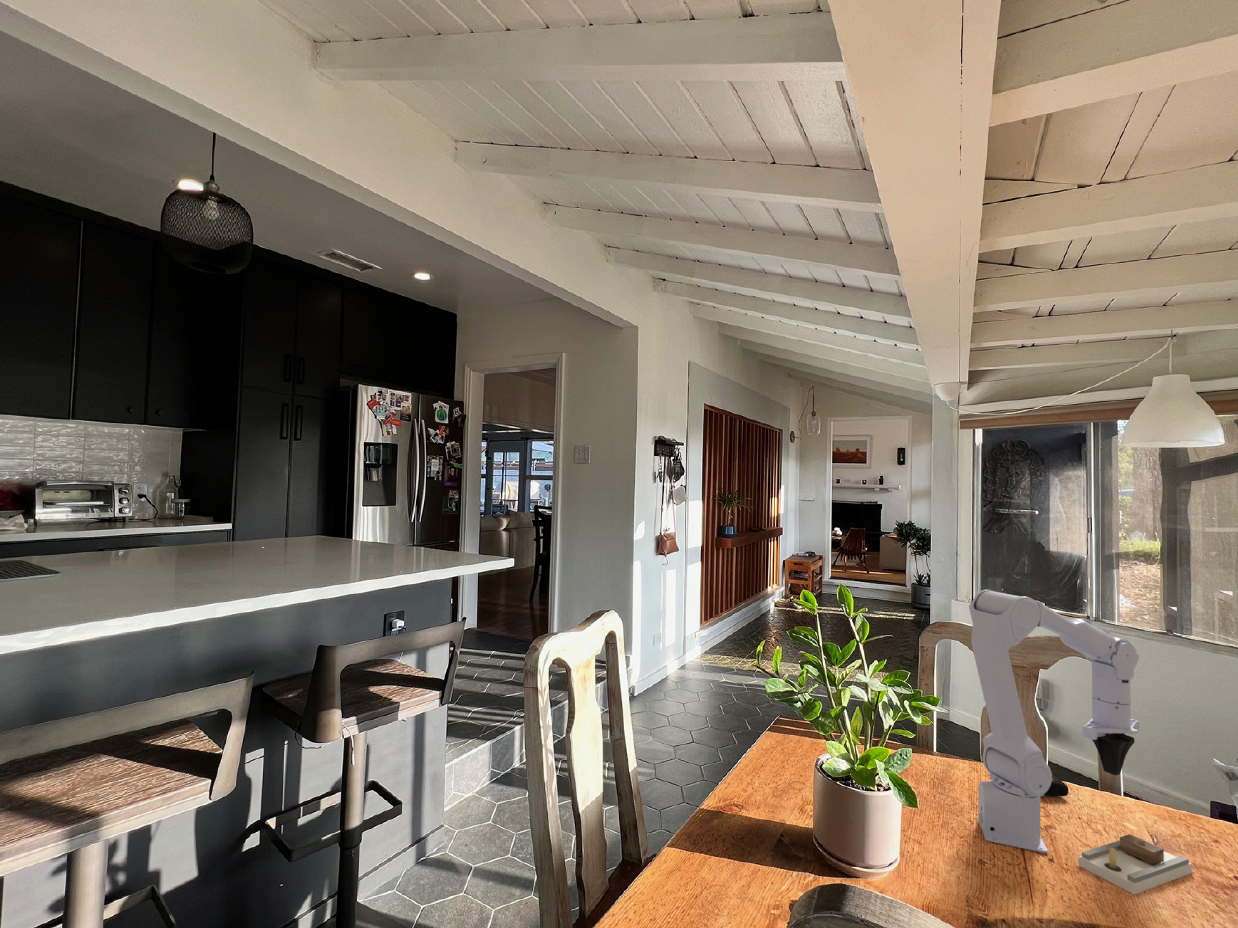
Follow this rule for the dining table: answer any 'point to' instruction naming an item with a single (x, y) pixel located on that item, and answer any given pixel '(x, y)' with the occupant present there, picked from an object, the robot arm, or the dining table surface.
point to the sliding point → (1142, 849)
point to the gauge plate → (1132, 868)
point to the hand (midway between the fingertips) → (1111, 772)
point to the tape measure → (1057, 788)
